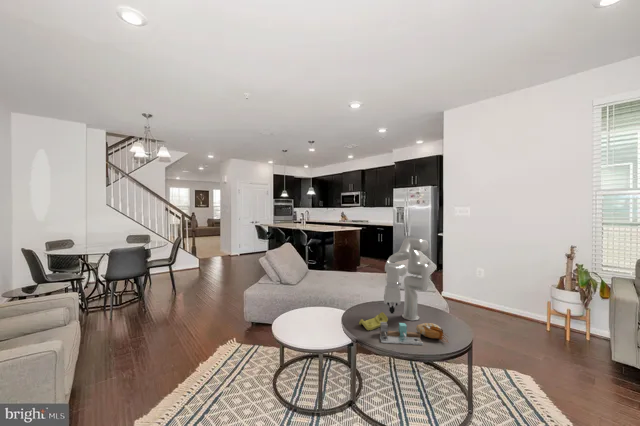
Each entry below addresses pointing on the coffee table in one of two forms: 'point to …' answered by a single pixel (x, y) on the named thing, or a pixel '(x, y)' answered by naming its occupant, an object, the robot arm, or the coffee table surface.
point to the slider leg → (403, 330)
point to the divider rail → (386, 333)
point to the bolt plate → (401, 340)
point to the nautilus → (431, 331)
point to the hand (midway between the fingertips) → (391, 312)
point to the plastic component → (374, 321)
